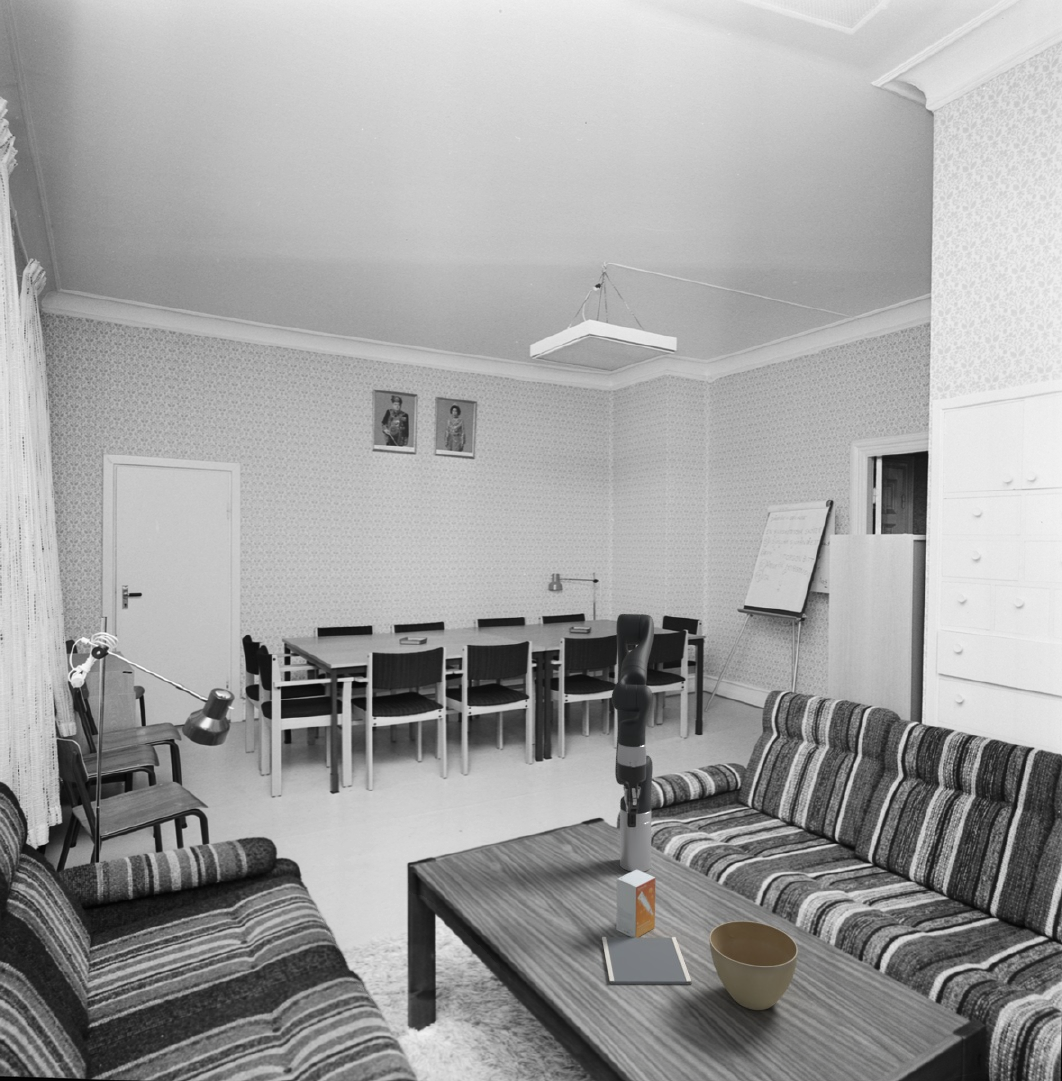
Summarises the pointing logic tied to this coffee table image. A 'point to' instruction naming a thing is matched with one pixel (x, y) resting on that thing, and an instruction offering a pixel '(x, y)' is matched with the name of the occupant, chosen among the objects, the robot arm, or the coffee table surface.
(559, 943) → the coffee table surface
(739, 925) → the beige round bowl
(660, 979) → the mat
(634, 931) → the small box
